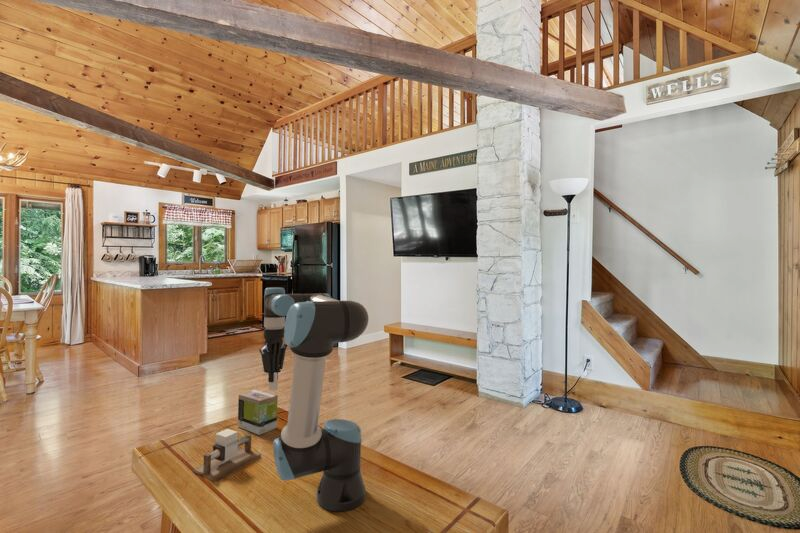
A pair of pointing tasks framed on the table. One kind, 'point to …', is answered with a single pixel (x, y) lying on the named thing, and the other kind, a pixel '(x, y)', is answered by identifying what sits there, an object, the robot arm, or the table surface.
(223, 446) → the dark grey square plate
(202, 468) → the board
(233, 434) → the sleeve
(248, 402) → the tea box
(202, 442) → the table surface
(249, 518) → the table surface
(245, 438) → the pipe
